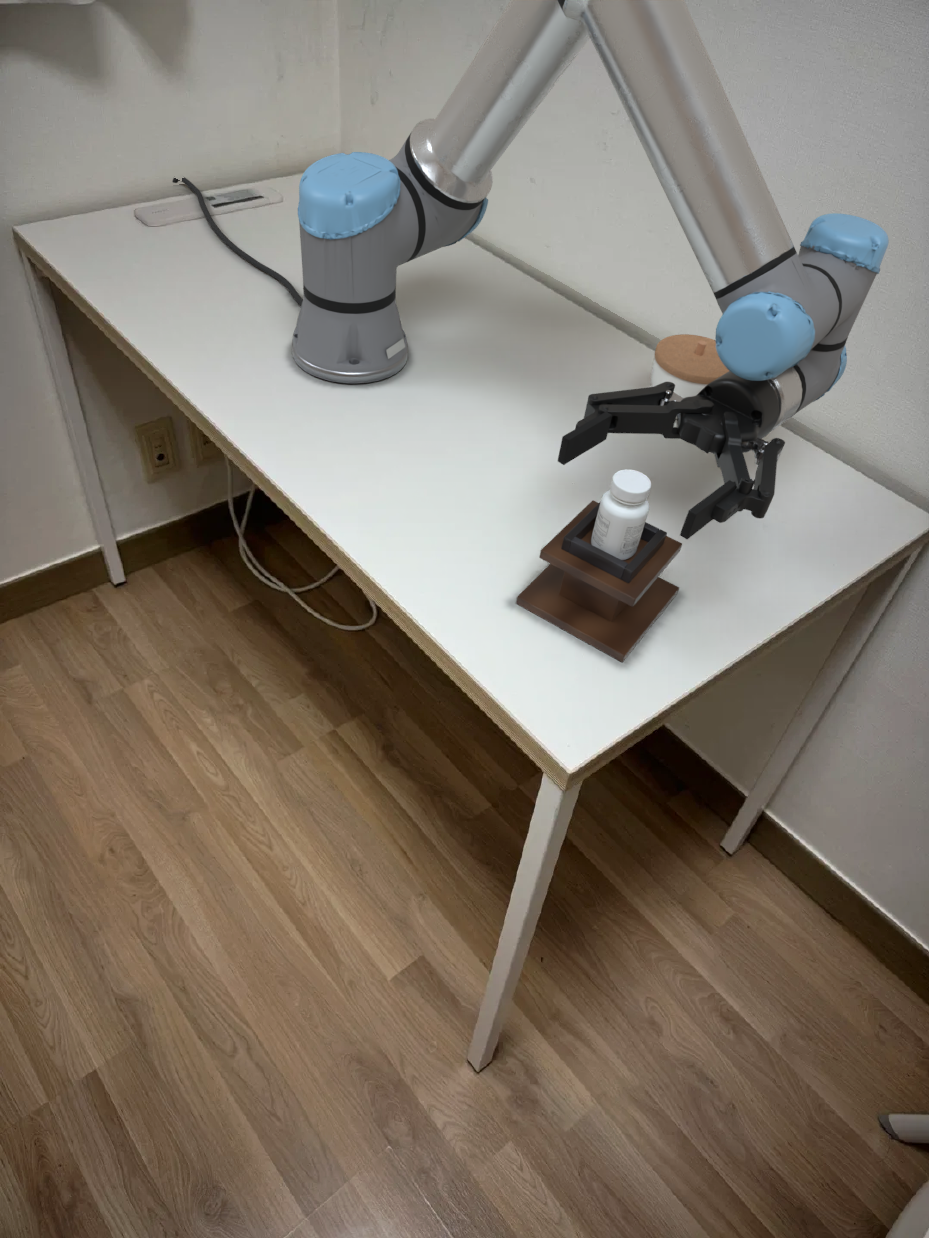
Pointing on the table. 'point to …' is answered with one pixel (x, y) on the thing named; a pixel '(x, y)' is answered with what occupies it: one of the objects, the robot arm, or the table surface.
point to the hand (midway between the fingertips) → (622, 486)
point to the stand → (602, 586)
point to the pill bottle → (622, 514)
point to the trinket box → (686, 363)
